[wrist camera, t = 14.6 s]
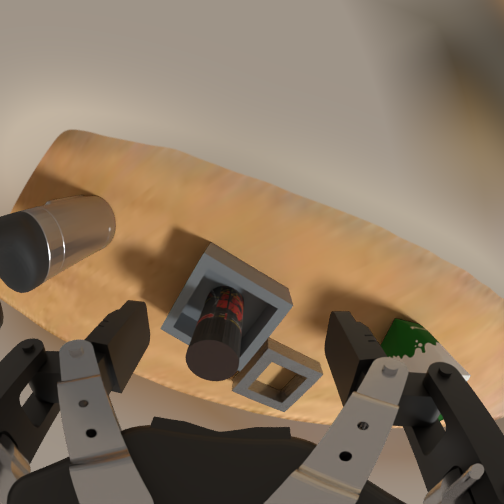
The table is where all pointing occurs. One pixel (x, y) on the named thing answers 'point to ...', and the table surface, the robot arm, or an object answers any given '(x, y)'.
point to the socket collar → (286, 358)
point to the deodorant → (217, 336)
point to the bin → (247, 284)
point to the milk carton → (417, 348)
